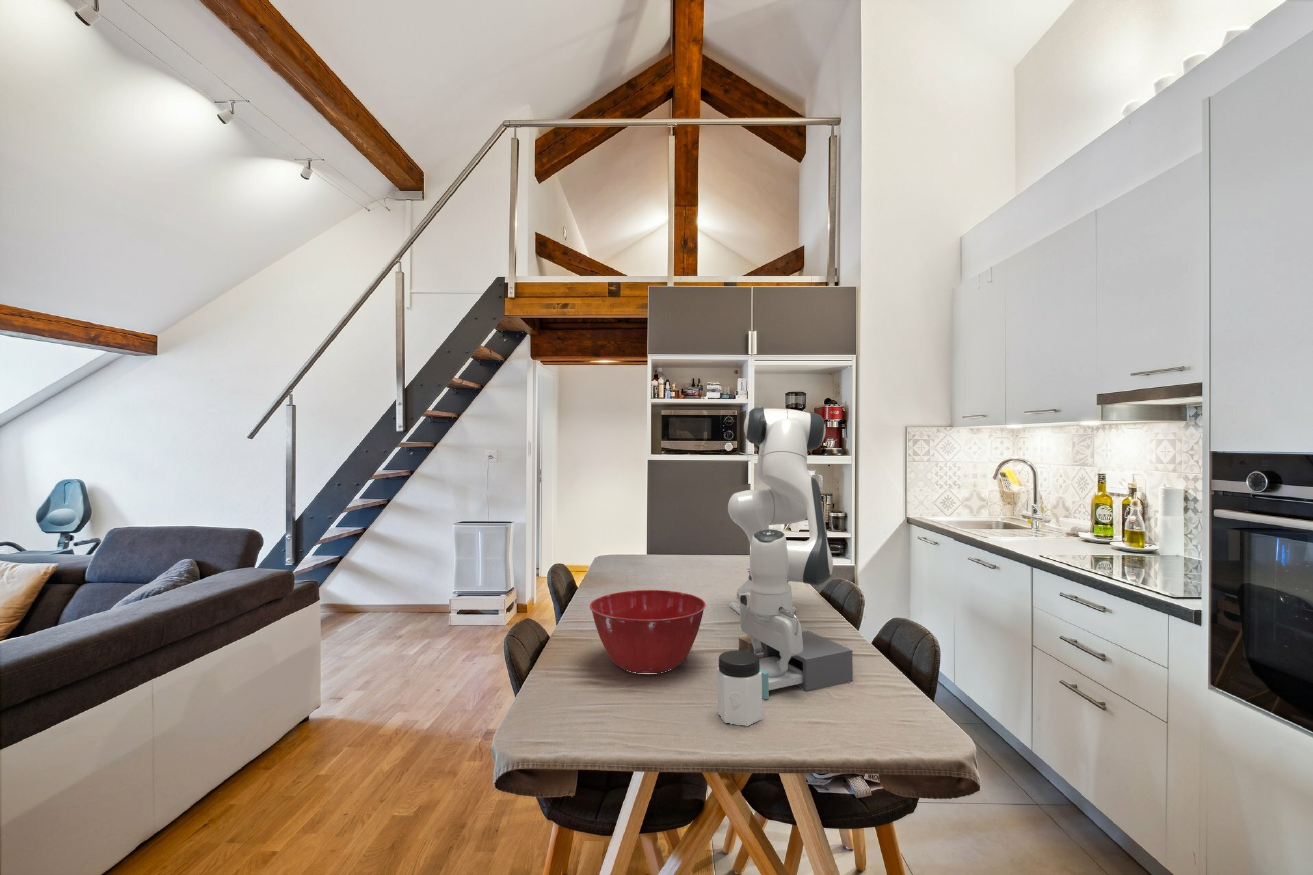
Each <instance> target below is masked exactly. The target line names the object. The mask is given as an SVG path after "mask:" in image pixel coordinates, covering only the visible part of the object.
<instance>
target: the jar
mask: <svg viewBox="0 0 1313 875" xmlns="http://www.w3.org/2000/svg"><path fill="white" fill-rule="evenodd" d="M716 678H717V680H716V681H717V688H716V689H717V714H718V716H719V715H720V716H721V717H720V716H719V717H720V718H721V720H722V721H723V723H724V722H725V723H732V724H738V725H737V726H740V725H745V726H744V727H749V725H750V726H751V724H752V725H753V723H754V724H755V723H757V722H759V721H761V720H763V698H762V673H761V672H760V661H759V657H758V655H756V654H754V653H752V652H748V651H740V650H739V649H738V650H726V651H725V652H721V653H720V654H719V655H718V667H717V670H716ZM725 723H724V724H725ZM732 724H731V725H732Z"/></svg>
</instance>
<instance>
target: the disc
mask: <svg viewBox="0 0 1313 875" xmlns="http://www.w3.org/2000/svg"><path fill="white" fill-rule="evenodd" d="M759 661H760V669H762V670H764V671H765V672H767V673H768V678H777V677H782V676H784V675H785V673H786V671H781V670H779V669H778V667H777V666H778V665H777V662H778V661H779V660H775V659H763V660H759Z"/></svg>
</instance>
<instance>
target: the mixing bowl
mask: <svg viewBox="0 0 1313 875" xmlns="http://www.w3.org/2000/svg"><path fill="white" fill-rule="evenodd" d="M706 604H707V603H706V602H705V600H704V599H702V598H701V597H699V596H697V595H693V594H690V593H687V592H679V591H676V590H674V591H672V590H662V589H659V590H658V589H642V590H641V589H640V590H639V589H638V590H626V591H625V590H624V591H619V592H612V593H609V594H606V595H603V596H599V597H597V598H596V599H594V600H592V601H591V602H590V603H589V609H590V610H591V613H592V617H593V620H594V624H595V627H596V630H597V633H598V637H599V639H600V641H601V643H602V645H603V647H604V649H605V651H606V653H607V655H608V656H609V658H610V660H611V661H612V662H613V663H614V664H615V665H616V666H618V667H619V668H621V669H622V668H623V669H625V670H628V671H631V672H636V673H661V672H665V671H668V670H670V669H672V670H674V669H675V668H676V667H678V666H679V665H680V664H682V663H683V662H684V661H685V660H686V658H687V657H688V655H689V654H690V651H691V650H692V648H693V646H694V642H695V640H696V638H697V635H698V632H699V630H700V626H701V624H702V623H701V622H702V619H703V616H704V615H703V614H704V610H705V609H706V606H707V605H706ZM673 668H674V669H673ZM623 669H622V670H623ZM625 670H624V671H625ZM668 672H669V671H668ZM665 673H666V672H665Z"/></svg>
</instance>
